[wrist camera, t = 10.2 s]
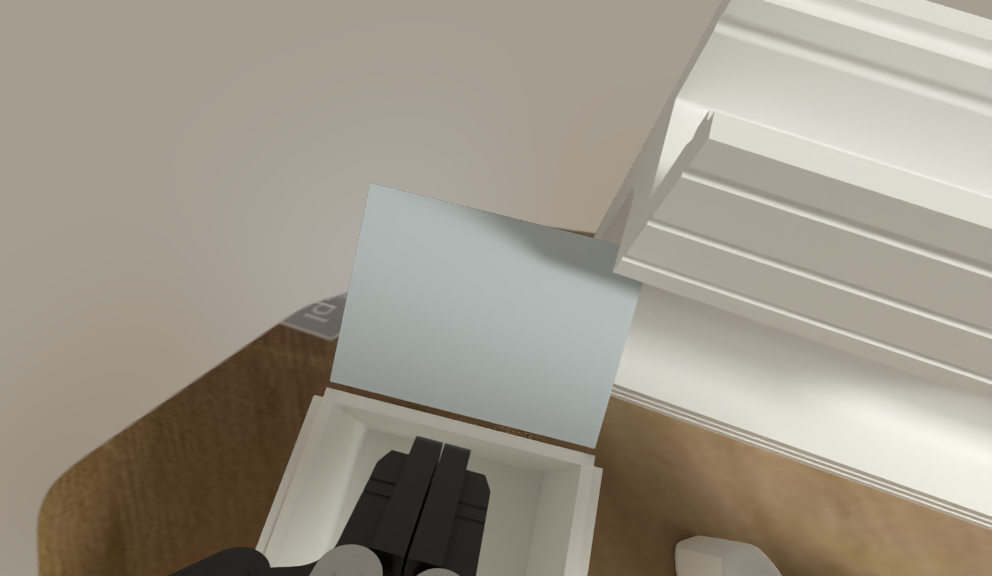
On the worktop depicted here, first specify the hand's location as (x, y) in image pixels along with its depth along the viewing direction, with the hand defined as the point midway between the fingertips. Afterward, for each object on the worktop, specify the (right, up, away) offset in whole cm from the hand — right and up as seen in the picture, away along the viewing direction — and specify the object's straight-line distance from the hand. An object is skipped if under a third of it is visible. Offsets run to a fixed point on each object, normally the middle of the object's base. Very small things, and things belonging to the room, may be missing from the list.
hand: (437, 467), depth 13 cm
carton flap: (+1, +3, +11) cm, 12 cm away
